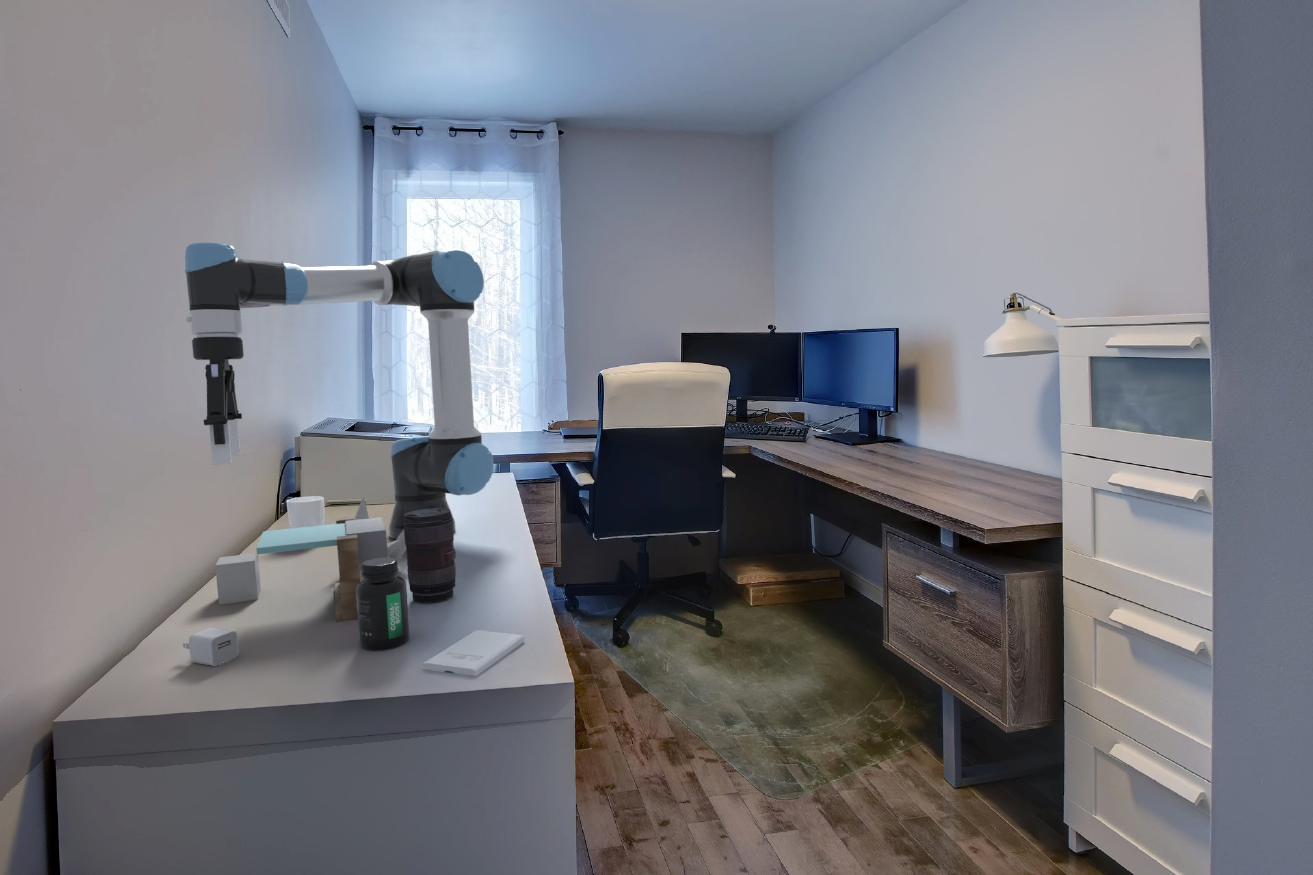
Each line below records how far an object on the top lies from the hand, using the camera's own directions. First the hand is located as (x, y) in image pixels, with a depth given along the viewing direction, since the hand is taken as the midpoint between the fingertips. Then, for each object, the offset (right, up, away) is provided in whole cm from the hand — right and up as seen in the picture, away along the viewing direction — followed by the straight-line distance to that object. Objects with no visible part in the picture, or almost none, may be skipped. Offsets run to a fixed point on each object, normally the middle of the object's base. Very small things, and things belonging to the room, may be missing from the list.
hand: (227, 460), depth 133 cm
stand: (+23, -24, -2) cm, 33 cm away
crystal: (+20, -23, +17) cm, 34 cm away
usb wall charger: (+12, -27, -26) cm, 40 cm away
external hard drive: (+50, -27, -28) cm, 63 cm away
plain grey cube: (+1, -24, +3) cm, 25 cm away
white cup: (-6, -20, +45) cm, 50 cm away
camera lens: (+36, -24, -1) cm, 43 cm away
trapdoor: (+19, -16, -5) cm, 26 cm away
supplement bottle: (+35, -26, -22) cm, 49 cm away
